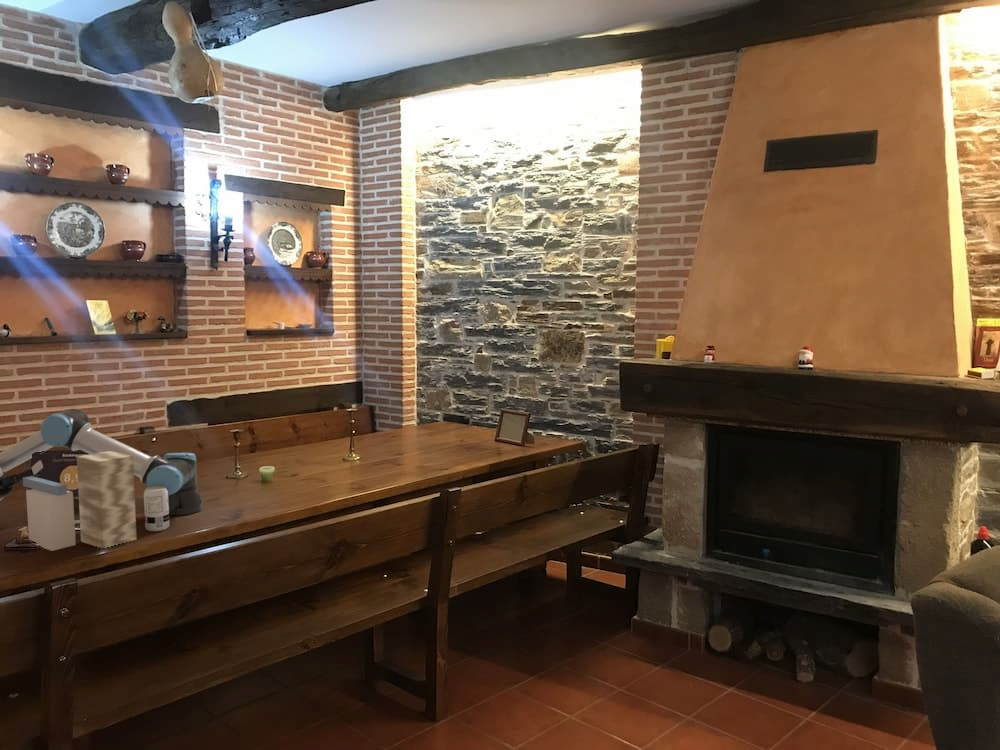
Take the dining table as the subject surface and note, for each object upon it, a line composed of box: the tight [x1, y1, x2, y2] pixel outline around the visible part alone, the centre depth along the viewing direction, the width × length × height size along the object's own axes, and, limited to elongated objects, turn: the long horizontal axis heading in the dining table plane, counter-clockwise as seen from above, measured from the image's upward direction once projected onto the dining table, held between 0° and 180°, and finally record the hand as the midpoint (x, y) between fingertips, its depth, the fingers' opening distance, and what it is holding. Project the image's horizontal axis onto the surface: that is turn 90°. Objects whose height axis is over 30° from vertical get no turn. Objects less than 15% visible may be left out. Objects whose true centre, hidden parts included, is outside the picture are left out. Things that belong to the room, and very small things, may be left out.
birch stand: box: [76, 451, 138, 549], centre depth 280 cm, size 12×14×30 cm
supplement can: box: [143, 486, 170, 532], centre depth 296 cm, size 8×8×15 cm
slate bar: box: [22, 476, 68, 496], centre depth 278 cm, size 3×23×3 cm, turn 56°
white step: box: [25, 488, 76, 552], centre depth 277 cm, size 8×15×18 cm, turn 56°
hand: (21, 467), depth 286 cm, fingers open, 13 cm apart
